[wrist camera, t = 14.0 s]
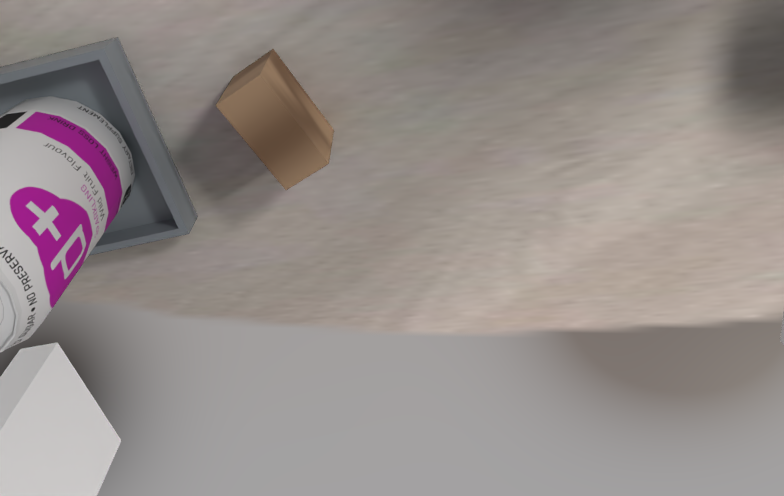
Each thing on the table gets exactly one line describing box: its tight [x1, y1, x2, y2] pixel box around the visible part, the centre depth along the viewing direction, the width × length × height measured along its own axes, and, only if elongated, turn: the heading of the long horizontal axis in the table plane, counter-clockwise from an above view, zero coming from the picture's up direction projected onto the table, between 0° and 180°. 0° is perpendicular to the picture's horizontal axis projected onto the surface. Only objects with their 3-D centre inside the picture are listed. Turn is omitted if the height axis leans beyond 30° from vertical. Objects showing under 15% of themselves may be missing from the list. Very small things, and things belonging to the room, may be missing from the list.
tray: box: [0, 38, 197, 256], centre depth 41 cm, size 12×12×2 cm
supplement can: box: [0, 96, 135, 352], centre depth 35 cm, size 8×8×15 cm
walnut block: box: [216, 49, 334, 190], centre depth 38 cm, size 6×3×5 cm, turn 33°
